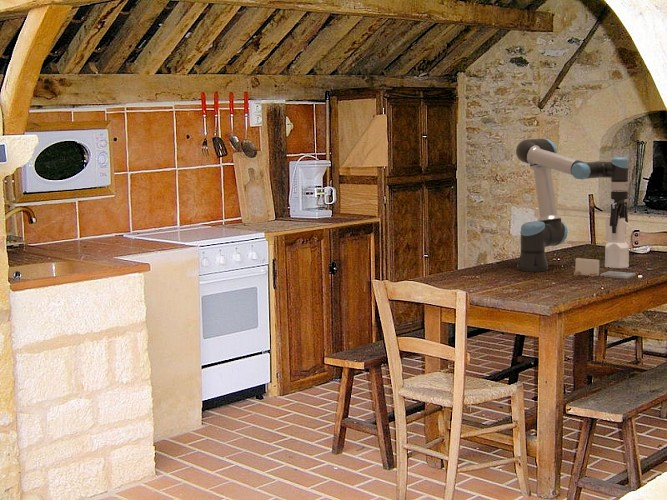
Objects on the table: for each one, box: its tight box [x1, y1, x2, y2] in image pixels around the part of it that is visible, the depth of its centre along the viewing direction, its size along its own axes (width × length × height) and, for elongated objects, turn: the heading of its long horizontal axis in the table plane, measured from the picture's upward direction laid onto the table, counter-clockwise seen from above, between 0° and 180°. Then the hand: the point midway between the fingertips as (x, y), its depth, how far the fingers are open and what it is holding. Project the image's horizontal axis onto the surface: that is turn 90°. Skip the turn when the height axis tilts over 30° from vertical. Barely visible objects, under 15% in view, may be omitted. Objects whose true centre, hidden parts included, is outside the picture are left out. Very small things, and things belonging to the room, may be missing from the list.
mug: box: [605, 216, 632, 242], centre depth 441 cm, size 9×12×11 cm
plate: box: [599, 270, 637, 280], centre depth 444 cm, size 13×11×1 cm
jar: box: [604, 238, 630, 269], centre depth 471 cm, size 12×10×15 cm
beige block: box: [573, 257, 600, 278], centre depth 446 cm, size 11×5×8 cm, turn 51°
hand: (618, 239), depth 442 cm, fingers closed on mug, 9 cm apart
